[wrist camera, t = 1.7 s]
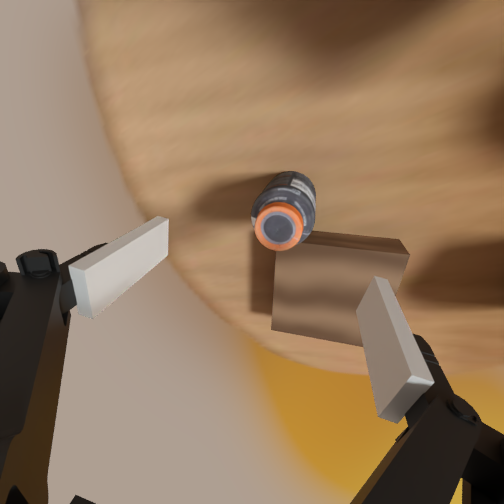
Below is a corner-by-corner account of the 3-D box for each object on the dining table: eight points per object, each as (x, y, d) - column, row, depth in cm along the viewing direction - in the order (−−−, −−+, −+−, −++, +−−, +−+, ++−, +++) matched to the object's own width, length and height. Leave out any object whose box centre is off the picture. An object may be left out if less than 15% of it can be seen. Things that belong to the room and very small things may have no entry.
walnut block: (281, 227, 32) (276, 240, 29) (399, 239, 29) (409, 254, 26) (275, 311, 38) (271, 329, 35) (371, 327, 36) (377, 349, 32)
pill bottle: (266, 218, 32) (243, 259, 22) (266, 170, 29) (239, 193, 19) (314, 220, 31) (311, 264, 21) (318, 170, 28) (317, 194, 18)
